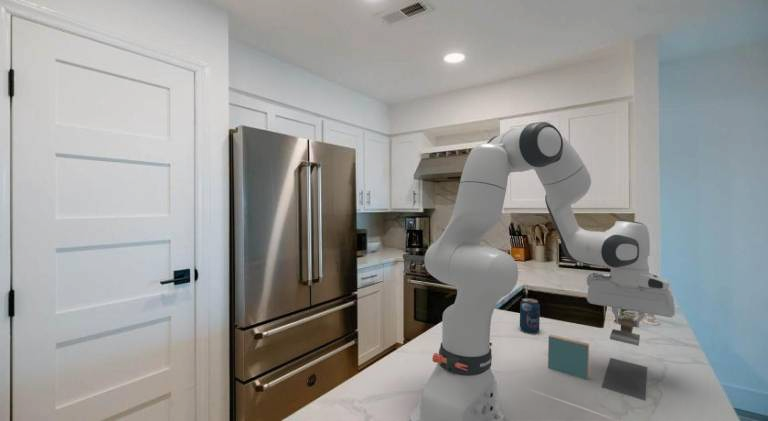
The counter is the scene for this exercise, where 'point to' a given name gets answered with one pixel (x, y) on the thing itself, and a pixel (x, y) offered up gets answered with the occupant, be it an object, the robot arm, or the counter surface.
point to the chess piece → (651, 320)
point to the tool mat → (626, 378)
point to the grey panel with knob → (626, 332)
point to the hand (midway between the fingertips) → (627, 325)
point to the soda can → (529, 315)
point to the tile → (568, 356)
